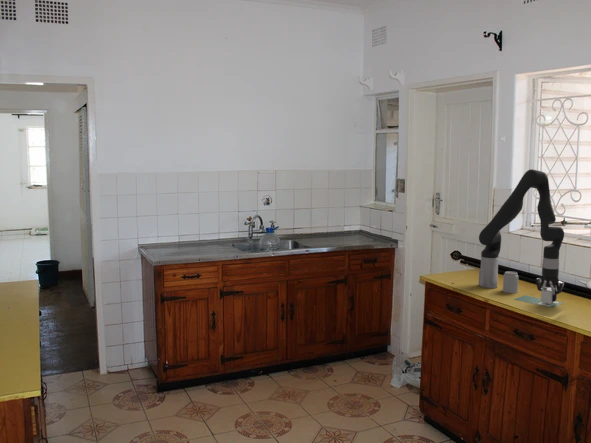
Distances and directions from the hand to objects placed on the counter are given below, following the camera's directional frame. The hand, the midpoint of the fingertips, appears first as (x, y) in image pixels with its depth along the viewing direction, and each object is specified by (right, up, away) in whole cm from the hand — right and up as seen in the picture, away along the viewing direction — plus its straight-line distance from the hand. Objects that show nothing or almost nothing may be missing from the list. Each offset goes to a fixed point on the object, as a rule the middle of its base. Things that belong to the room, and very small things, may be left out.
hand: (548, 300), depth 276 cm
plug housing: (0, -1, 0) cm, 1 cm away
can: (-10, 0, +24) cm, 26 cm away
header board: (-3, -2, +4) cm, 6 cm away
